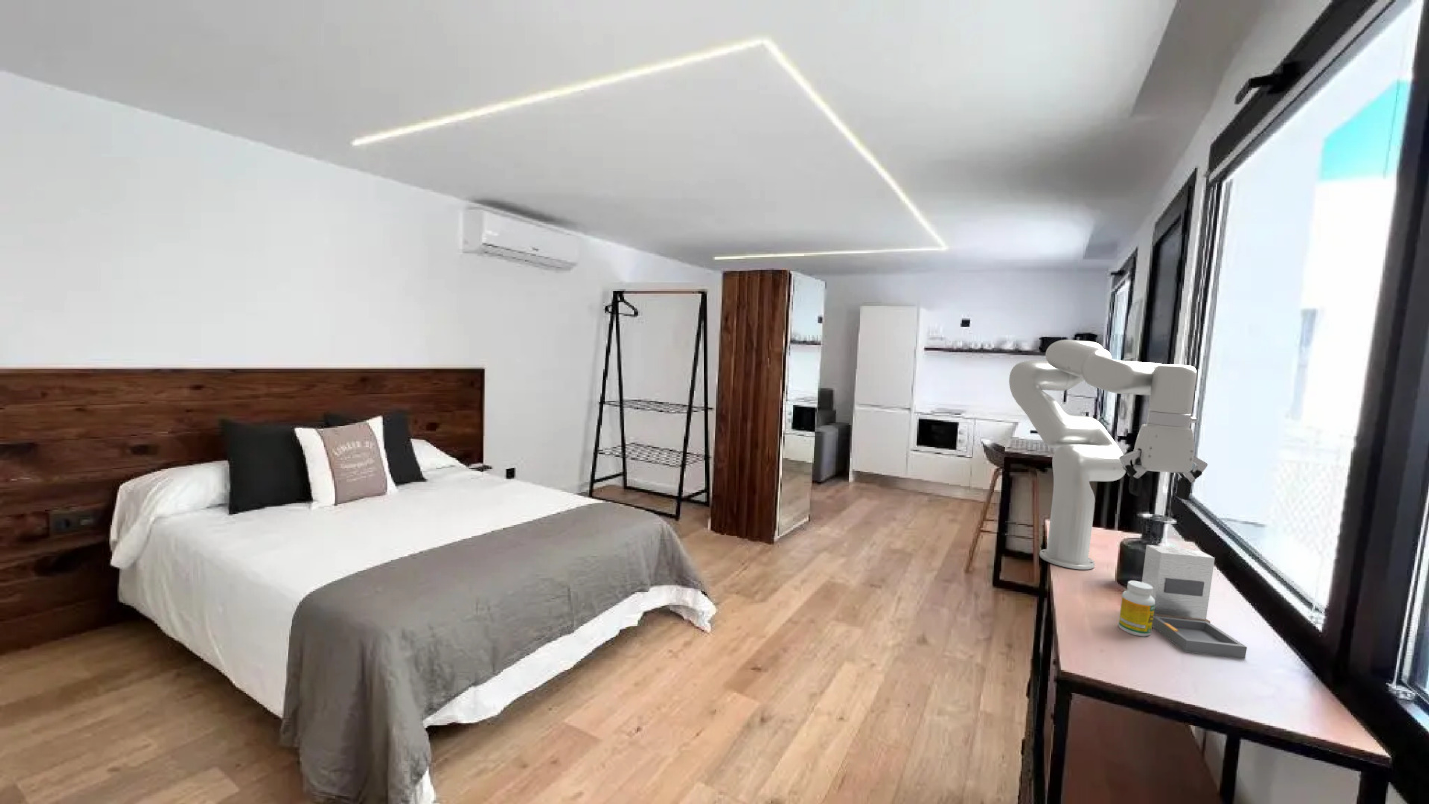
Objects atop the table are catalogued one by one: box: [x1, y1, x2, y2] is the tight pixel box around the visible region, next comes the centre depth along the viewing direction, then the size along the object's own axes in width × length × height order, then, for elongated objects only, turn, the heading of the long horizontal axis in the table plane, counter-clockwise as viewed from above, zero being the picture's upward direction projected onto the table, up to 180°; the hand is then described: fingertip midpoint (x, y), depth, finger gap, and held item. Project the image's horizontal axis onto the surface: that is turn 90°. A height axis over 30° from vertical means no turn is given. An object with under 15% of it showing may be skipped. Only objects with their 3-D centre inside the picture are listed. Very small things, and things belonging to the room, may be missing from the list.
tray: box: [1152, 616, 1248, 659], centre depth 112 cm, size 10×10×2 cm
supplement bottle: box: [1117, 580, 1155, 637], centre depth 115 cm, size 5×5×10 cm
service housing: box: [1141, 544, 1216, 624], centre depth 121 cm, size 6×11×15 cm, turn 82°
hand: (1158, 496), depth 128 cm, fingers open, 9 cm apart
